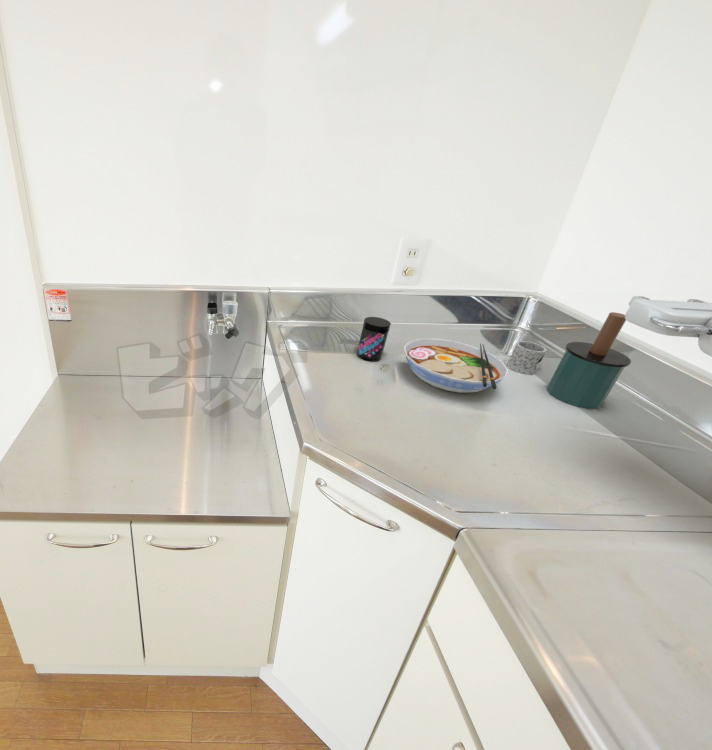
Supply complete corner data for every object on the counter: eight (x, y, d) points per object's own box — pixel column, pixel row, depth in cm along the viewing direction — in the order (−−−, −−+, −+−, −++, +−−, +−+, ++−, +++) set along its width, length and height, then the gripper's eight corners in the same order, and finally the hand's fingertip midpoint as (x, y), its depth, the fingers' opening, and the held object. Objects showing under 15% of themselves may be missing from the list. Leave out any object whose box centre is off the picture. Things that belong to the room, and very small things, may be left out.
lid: (611, 351, 98) (635, 309, 93) (639, 373, 88) (667, 328, 83) (555, 343, 101) (575, 302, 96) (577, 364, 91) (600, 320, 86)
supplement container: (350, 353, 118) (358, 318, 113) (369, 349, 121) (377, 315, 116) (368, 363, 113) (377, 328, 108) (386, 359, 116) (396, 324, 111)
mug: (539, 376, 111) (550, 353, 108) (511, 371, 113) (520, 349, 109) (527, 359, 119) (537, 338, 116) (501, 355, 121) (510, 334, 118)
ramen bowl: (401, 353, 120) (409, 327, 115) (493, 374, 111) (505, 346, 107) (389, 394, 100) (398, 363, 96) (500, 423, 91) (515, 391, 87)
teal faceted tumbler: (585, 394, 104) (611, 349, 97) (606, 418, 95) (636, 369, 89) (537, 387, 106) (560, 342, 100) (553, 408, 97) (579, 361, 91)
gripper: (659, 349, 64) (592, 315, 76) (799, 357, 63) (710, 322, 75) (683, 309, 61) (610, 281, 73) (831, 318, 60) (733, 287, 72)
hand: (662, 301), depth 74 cm, fingers open, 8 cm apart
